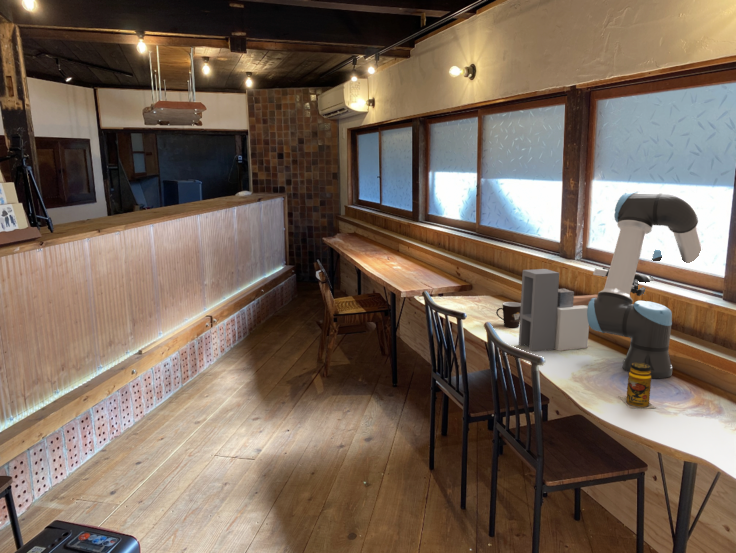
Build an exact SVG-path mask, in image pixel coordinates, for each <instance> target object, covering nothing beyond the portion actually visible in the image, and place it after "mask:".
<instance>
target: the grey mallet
mask: <svg viewBox="0 0 736 553" xmlns="http://www.w3.org/2000/svg"><path fill="white" fill-rule="evenodd" d="M597 296H598V294H590V295H588V294H587V295H575V291H573V290H569V289H568V288H567V289H566V288H558V301H557V307H558V308H565V307H573V306H577V305H584V306H588V304H589V301H590V300H591V299H592V298H597Z"/></svg>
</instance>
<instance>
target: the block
mask: <svg viewBox="0 0 736 553" xmlns="http://www.w3.org/2000/svg"><path fill="white" fill-rule="evenodd" d="M587 309H588V305H577V306H573V307H565V308H558V307H557V316H556V331H555V346H554V350H556V351H567V350H568V351H569V350H579V349H587V348H588V344H589V343H588V342H589V334H590V333H589V331H590V326H589V323H588V319H587Z"/></svg>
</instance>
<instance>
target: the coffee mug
mask: <svg viewBox="0 0 736 553" xmlns="http://www.w3.org/2000/svg"><path fill="white" fill-rule="evenodd" d="M500 310H502V317H501V316H500V315H499V313H498V312H499V311H500ZM520 311H521V302H515V301H505V302H502V307H498V308H497V309H496V313H495V314H496V315H497V317H498V318H499V319H501V320H502V321H503V327H505V328H509V329H518V328H520Z"/></svg>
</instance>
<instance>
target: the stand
mask: <svg viewBox="0 0 736 553" xmlns="http://www.w3.org/2000/svg"><path fill="white" fill-rule="evenodd" d="M521 275H522V277H521V278H522V280H521V281H522V282H521V293H520V294H521V295H520V303H521V311H520V323H519V332H518V334H519V335H518V346H520V347H522V346H523V347H524V346H525V345H526V346H528V351H529V352H530V353H532V352H543V351H544V352H545V351H552V350H553V351H554V350H555V349H554V346H555V331H556V316H557V301H558V289H559V284H560V272H558V271H554V270H551V269H547V268H538V269H535V268H534V269H523V270H522V274H521Z"/></svg>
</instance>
